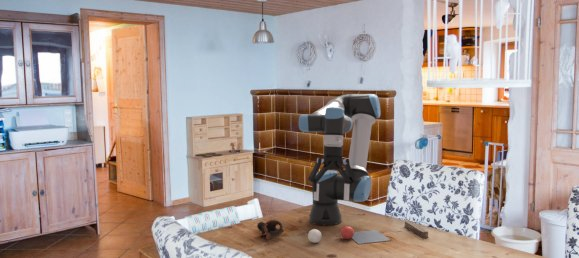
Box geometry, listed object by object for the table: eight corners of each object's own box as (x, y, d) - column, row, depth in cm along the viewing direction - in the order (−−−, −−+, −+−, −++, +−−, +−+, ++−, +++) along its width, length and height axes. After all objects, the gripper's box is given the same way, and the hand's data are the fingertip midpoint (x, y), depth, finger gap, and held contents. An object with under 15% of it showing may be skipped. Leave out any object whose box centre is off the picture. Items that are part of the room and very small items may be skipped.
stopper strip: (422, 238, 196) (422, 232, 195) (404, 226, 211) (404, 221, 211) (428, 237, 196) (428, 231, 196) (409, 226, 212) (409, 220, 211)
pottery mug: (285, 234, 206) (287, 221, 201) (277, 250, 199) (278, 237, 194) (260, 225, 209) (261, 212, 204) (251, 241, 202) (251, 227, 197)
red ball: (337, 239, 197) (337, 226, 196) (346, 236, 200) (346, 223, 200) (348, 242, 193) (348, 229, 192) (356, 239, 196) (356, 226, 196)
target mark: (358, 244, 190) (358, 243, 190) (346, 233, 204) (346, 233, 204) (390, 240, 193) (390, 240, 193) (376, 230, 207) (376, 229, 207)
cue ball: (305, 242, 193) (304, 229, 193) (314, 239, 197) (314, 226, 197) (315, 245, 190) (314, 232, 189) (324, 242, 193) (324, 229, 193)
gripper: (309, 144, 180) (307, 201, 179) (365, 147, 190) (363, 201, 189) (300, 144, 186) (298, 199, 185) (355, 147, 197) (353, 199, 196)
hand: (331, 200), depth 187 cm, fingers open, 13 cm apart
